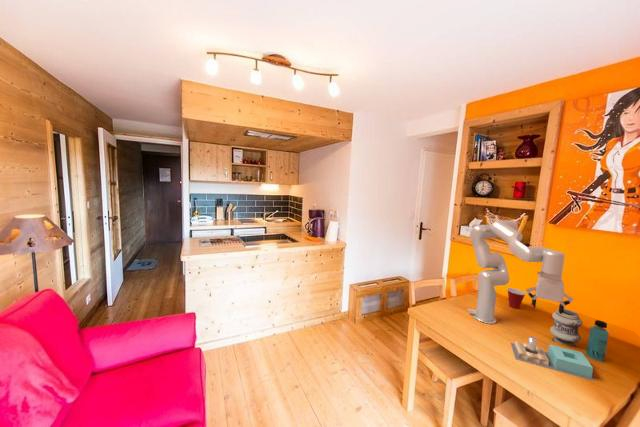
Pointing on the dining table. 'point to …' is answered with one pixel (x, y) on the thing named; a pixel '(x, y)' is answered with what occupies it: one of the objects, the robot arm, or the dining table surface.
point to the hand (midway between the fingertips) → (546, 309)
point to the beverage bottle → (597, 341)
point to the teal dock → (570, 361)
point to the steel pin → (531, 344)
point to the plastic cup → (515, 297)
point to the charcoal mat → (550, 365)
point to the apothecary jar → (566, 327)
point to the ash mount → (531, 354)
